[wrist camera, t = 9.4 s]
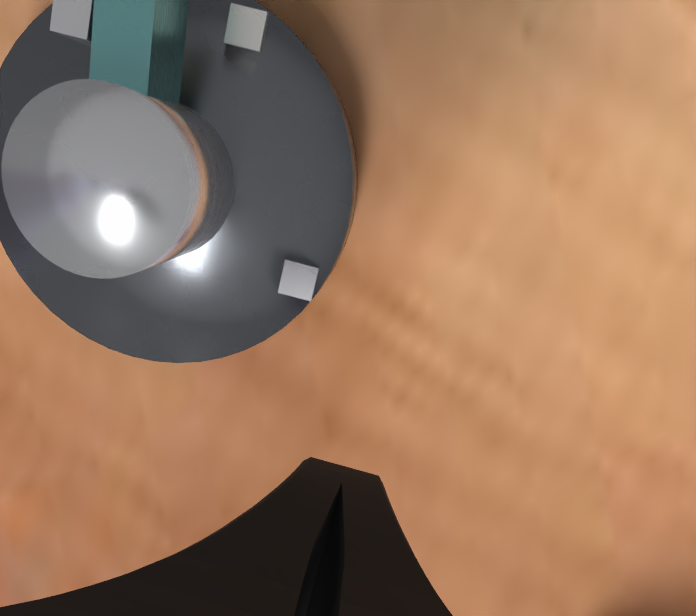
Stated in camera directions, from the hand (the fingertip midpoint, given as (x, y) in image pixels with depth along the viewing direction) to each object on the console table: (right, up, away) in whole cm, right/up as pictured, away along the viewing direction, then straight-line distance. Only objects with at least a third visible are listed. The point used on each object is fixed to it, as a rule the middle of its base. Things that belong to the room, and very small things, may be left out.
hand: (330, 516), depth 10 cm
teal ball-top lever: (-5, +10, +6) cm, 13 cm away
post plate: (-5, +8, +8) cm, 12 cm away
